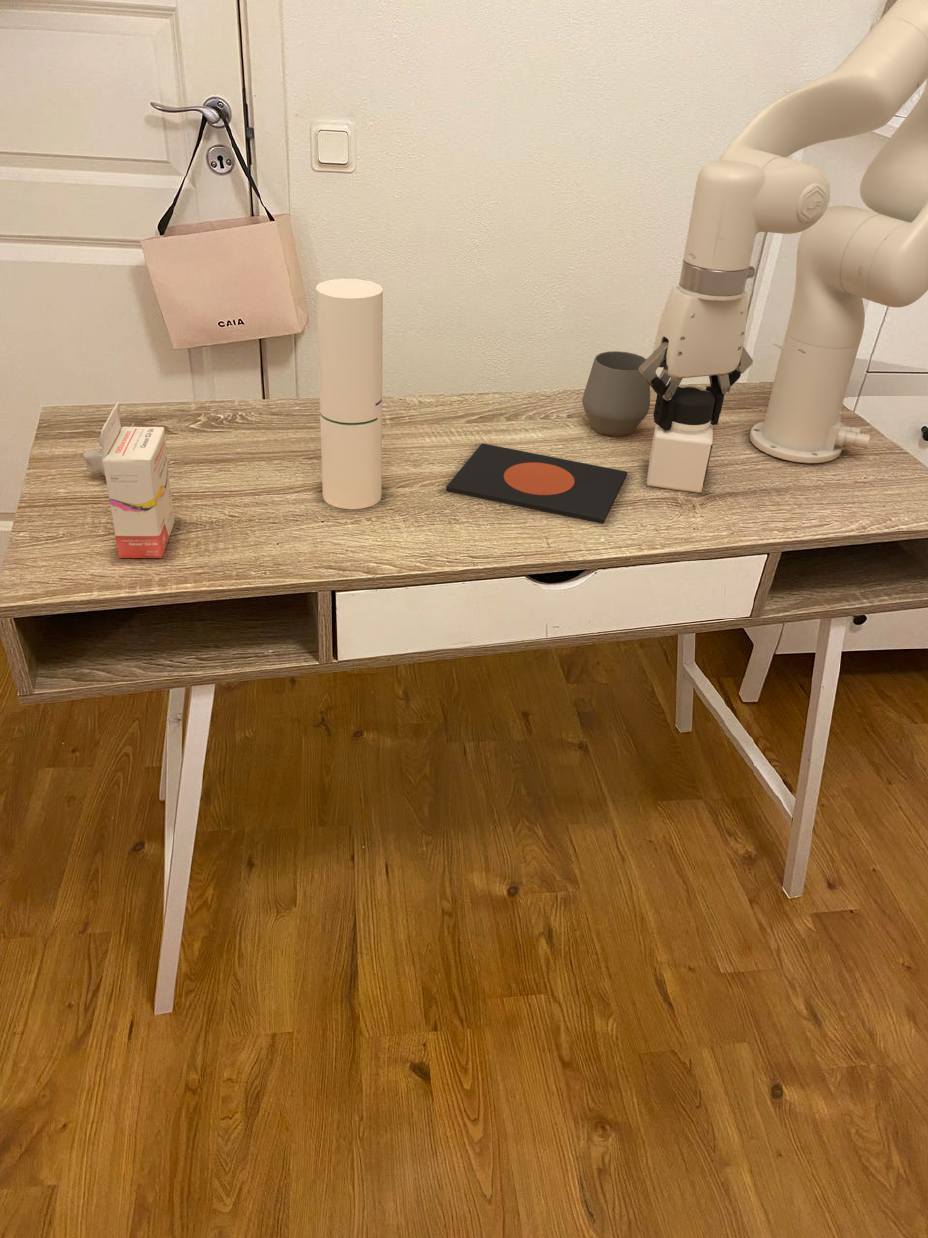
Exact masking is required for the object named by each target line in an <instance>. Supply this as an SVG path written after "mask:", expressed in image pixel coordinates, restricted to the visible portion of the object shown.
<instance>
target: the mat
mask: <svg viewBox="0 0 928 1238" xmlns="http://www.w3.org/2000/svg"><path fill="white" fill-rule="evenodd" d="M627 476H628V471H626V470H621V469H615V468H610V467H605V466H600V465H594V464H589V463H585V462H580V461H575V460H569V459H565V458H559V457H553V456H549V455H544V454H538V453H535V452H534V453H533V452H528V451H523V450H517V449H514V448H508V447H503V446H498V445H492V444H487V443H480V445H479V446H478V447H477V449H476V450H475V451H474V452H473V453H472V455H471V456H470V457H469V458H468V460H467V461H465V463H464V464H463V465H462V467H461V468H460V469H459V470H458V472H457V473H456V474H455V475H454V477H453V478H452V479H451V480H450V481H449V483H447V485H446V486H445V491H446V492H450V493H455V494H459V495H460V494H461V495H466V496H470V497H474V498H479V499H484V500H489V501H493V502H498V503H502V504H503V503H504V504H508V505H513V506H517V507H522V508H527V509H531V510H536V511H542V512H546V513H550V514H555V515H559V516H565V517H571V518H574V519H579V520H584V521H588V522H594V523H598V524H604V522H605V521H606V518H607V517H608V514H609V512H610V511H611V509H612V506H613V505H614V502H615V500H616V498H617V496H618V494H619V492H620V491H621V488H622V486H623V484H624V482H625V480H626V479H627Z"/></svg>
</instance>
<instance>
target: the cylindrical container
mask: <svg viewBox="0 0 928 1238" xmlns="http://www.w3.org/2000/svg"><path fill="white" fill-rule="evenodd" d="M315 293H316V294H315V296H316V298H315V299H316V325H317V326H316V327H317V331H316V332H317V359H318V361H317V363H318V393H319V395H318V396H319V397H318V398H319V423H320V424H319V425H320V427H319V428H320V453H321V454H320V455H321V457H320V458H321V484H322V485H321V486H322V487H321V489H322V498H323V500H324V502H325V503H327V504H328V505H329V506H332V507H335V508H338V509H343V510H360V509H366V508H369V507H372V506H375V505H376V504H378V503H379V502H380V501H381V499H382V494H383V493H382V485H383V483H382V478H383V477H382V476H383V475H382V473H383V472H382V471H383V469H382V467H383V466H382V465H383V464H382V463H383V459H382V457H383V320H384V319H383V318H384V316H383V315H384V314H383V311H384V310H383V309H384V307H383V306H384V304H383V303H384V301H383V300H384V298H383V297H384V289H383V286H381V285H380V284H379V283H376V282H374V281H371V280H366V279H359V278H334V279H329V280H325V281H321V282H319V283H318V284H317V285H316V287H315Z"/></svg>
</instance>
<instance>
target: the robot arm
mask: <svg viewBox="0 0 928 1238" xmlns="http://www.w3.org/2000/svg"><path fill="white" fill-rule="evenodd" d="M924 83H925V86H924V88H923V91H922V93H921V96H920V97H919V99H918V100H917V102H916V103H915V105H914V107H913V108H912V109H911V110H910V111H909V113H908V114H907V116H906V117H905V118H904V119H903V121H902V122H901V124H899V126H898V127H897V128H896V130H895V131H894V132H893V134H891V136H890V137H889V139H888V140H887V141H886V142H885V144H884V145H883V146H882V147H881V149H880V150H879V152H878V153H876V155H875V156H874V158H873V159H872V161H871V162H870V164H869V165H868V167H866V170H865V172H864V173H863V175H862V178H861V181H860V185H859V195H860V199H861V200H862V202H863V204H864V205H865V206H867V208H868V209H870V210H868V209H864V208H862V207H857V206H851V205H832V206H829V203H830V200H831V187H830V182H829V180H828V178H827V176H826V175H825V173H824V172H823V171H821V170H820V169H819V168H818V167H817V166H815V165H812V164H811V163H809V162H805V161H800V160H797V159H792V158H789V157H790V156H791V155H793V154H795V153H797V152H799V151H801V150H804V149H805V148H807V147H810V146H813V145H816V144H820V143H824V142H830V141H834V140H841V139H844V138H851V137H856V136H860V135H863V134H866V133H871V132H874V131H877V130H878V129H881V128H883V127H884V126H886V125H887V124H888V123H889V122H890V121H891V120H893V117H895V116H896V114H898V112H899V111H900V110H901V109H902V107H903V106H904V105H905V104H906V103H907V102H908V101H909V100H910V99H911V98H912V96H913V95H915V93H916V92H917V91H918V90H919V88H921V86H922V85H923V84H924ZM871 210H872V211H871ZM690 212H691V213H690V218H689V225H688V230H687V235H686V241H685V247H684V252H683V258H682V265H681V269H680V275H679V282H678V285H677V286H673V287H671V289H670V291H669V293H668V296H667V299H666V302H665V304H664V306H663V310H662V313H661V317H660V321H659V324H658V329H657V332H656V336H655V341H654V346H653V349H652V350H653V351H652V353H650V355H649V356H648V357H646V358H645V359H646V360H645V361H644V362H643V363H642V364H641V365H640V367H639V369H638V371H639V372H640V373H641V375H642V376H643V377H644V378H645V379H646V380H647V382H648V384H649V385H650V388H652V390H653V392H654V393H655V394H656V396H655V403H654V409H653V422H654V423H655V425H656V424H657V425H659V426H660V427H661V428H662V429H664V430H665V431H667V430H670V429H671V427H672V421H673V416H674V410H675V405H676V401H675V400H674V399H672V397H673V395H674V394H675V392H676V390H677V388H678V386H680V384H681V382H682V381H683V379H689V378H701V377H708V379H709V384H710V385H708V386H705V388H704V389H705V390H707V391H709V392H710V393H712V394H713V396H714V398H715V403H714V408H713V413H712V418H711V423H710V424H712V425H713V426H717V425H718V424H719V420H720V416H721V413H722V409H723V405H724V399H725V395H728V394H729V393H730V392H731V387H732V386H733V385H734V384H735V383H736V382H738V380H739V379H740V378H741V376H742V374H743V373H745V372H746V371H747V370H748V369H749V368H750V367H751V366H752V365H753V363H754V360H753V358H752V357H751V355H750V354H749V352H748V351H747V349H746V348H745V346H744V343H745V338H746V330H747V321H748V292H747V291H746V286H747V280H749V279H753V278H754V277H755V275H756V274H755V273H756V269H755V267H754V266H752V265H751V261H752V255H753V251H754V248H755V247H754V246H755V241H756V238H757V235H758V234H759V233H774V234H783V235H792V234H798V233H800V236H799V239H798V242H797V243H798V244H797V250H796V264H795V265H796V266H795V267H796V268H795V282H794V293H793V297H792V298H793V299H792V303H791V308H790V313H789V318H788V323H787V326H786V330H785V334H784V338H783V342H782V346H781V351H780V355H779V359H778V363H777V367H776V370H775V371H776V372H775V375H774V379H773V383H772V384H773V385H772V389H771V392H770V397H769V401H768V406H767V409H766V413H765V418H764V420H763V421H760V422H757V423H755V424H754V425H753V426H752V427H751V429H750V432H749V440H750V442H751V444H752V445H753V446H754V447H755V448H757V449H758V450H759V451H761V452H763V453H765V454H767V455H769V456H772V457H774V458H778V459H780V460H783V461H788V462H793V463H801V464H821V463H827V462H831V461H834V460H835V459H837V458H839V457H840V456H841V453H842V450H843V446H844V445H848V446H849V445H850V446H852V447H855V448H861V449H868V446H869V443H870V439H871V434H868V433H863V432H861V430H862V428H861V427H855V426H848V425H845V424H844V423H842V422H841V418H842V414H841V411H842V407H843V405H844V402H845V401H844V400H845V398H846V394H847V390H848V387H849V382H850V379H851V375H852V372H853V369H854V366H855V361H856V358H857V355H858V351H859V348H860V344H861V342H862V338H863V334H864V329H865V321H866V320H865V316H866V314H865V313H866V312H865V306H864V300H867V301H869V302H873V303H876V304H879V305H881V306H886V307H890V308H904V307H907V306H910V305H912V304H914V303H916V302H917V301H918V300H919V299H920V298H922V297H923V296H924V295H925V294H926V293H927V292H928V0H896V1H895V2H894V3H893V4H892V5H891V7H890V8H889V9H888V10H887V11H886V12H885V14H884V15H883V16H882V17H881V18H880V19H879V20H878V21H877V22H876V24H875V25H874V26H873V27H872V28H871V29H870V31H868V33H867V34H866V35H865V36H864V37H863V38H862V40H860V42H859V43H858V44H857V45H856V46H855V47H854V48H853V50H851V51H850V53H849V54H848V55H847V57H845V59H844V60H843V61H842V62H841V63H840V64H839V66H837V67H836V69H834V70H833V71H832V72H829V73H828V74H826V75H824V76H821V77H819V78H817V79H815V80H813V81H810V82H809V83H808V84H805V85H803V86H801V87H799V88H797V89H796V90H794V91H793V92H791V93H789V94H786V95H785V96H783V97H781V98H779V99H777V100H776V101H775V102H773V103H771V104H770V105H768V106H767V107H765V108H763V109H762V110H761V111H760V112H759V113H757V114H756V115H755V116H754V117H753V118H752V119H751V120H750V121H749V122H748V123H747V124H746V125H745V126H744V127H743V128H742V130H741V131H740V132H739V133H738V134H737V135H736V137H734V138H733V140H732V141H731V142H730V144H728V146H727V147H725V150H724V151H723V153H722V154H721V155H720V156H719V158H718V160H712V161H709V162H707V163H705V164H704V165H703V166H701V168H700V170H699V172H698V175H697V178H696V182H695V188H694V194H693V200H692V205H691V211H690ZM863 299H864V300H863ZM658 368H662V370H661V372H660V374H659V375H658V374H657V370H658Z"/></svg>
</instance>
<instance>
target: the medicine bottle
mask: <svg viewBox="0 0 928 1238" xmlns="http://www.w3.org/2000/svg"><path fill="white" fill-rule="evenodd" d="M705 389H706V388H703V387H701V386H697V385H690V384H681V385H679V386H678V388H677V390H676V392H675V394H674V395H673V397H672V399H674V400H675V401H676V405H675V410H674V416H673V421H672V427H671V429H670V430H667V431H665V430H664V429H662V428H661V427H660V426H659V425H657V424H656V423H655V426H654V432H653V437H652V442H651V449H650V454H649V459H648V468H647V476H646V477H647V478H646V485H647V486H648V487H654V488H661V489H668V490H674V491H682V492H683V491H684V492H689V493H691V492H692V493H696V494H701V493H703V492H704V487H705V483H706V478H707V473H708V469H709V464H710V459H711V454H712V450H713V444H714V440H713V439H714V438H713V436H714V435H713V431H714V429H713V428H714V427H713V426H714V425H712V424H710V423H711V418H712V413H713V408H714V403H715V398H714V396H713V394H712V393H710V392H709V391H707V390H705Z"/></svg>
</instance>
